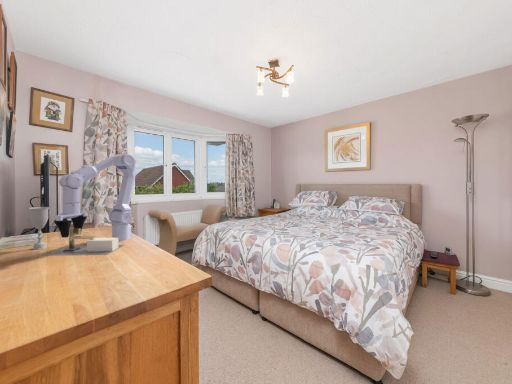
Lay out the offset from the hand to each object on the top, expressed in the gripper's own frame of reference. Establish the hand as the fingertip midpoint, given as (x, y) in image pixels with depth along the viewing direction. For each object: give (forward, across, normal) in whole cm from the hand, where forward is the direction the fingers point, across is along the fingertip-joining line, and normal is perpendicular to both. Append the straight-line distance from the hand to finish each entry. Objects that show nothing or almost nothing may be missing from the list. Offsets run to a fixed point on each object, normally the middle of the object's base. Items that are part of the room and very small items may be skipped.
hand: (71, 235), depth 96 cm
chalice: (+7, -7, -18) cm, 21 cm away
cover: (+6, 0, +12) cm, 14 cm away
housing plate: (+7, 0, +6) cm, 9 cm away
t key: (+5, 0, +3) cm, 6 cm away
